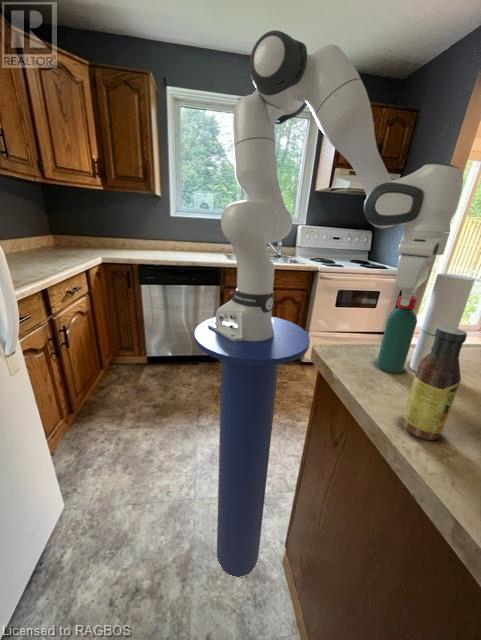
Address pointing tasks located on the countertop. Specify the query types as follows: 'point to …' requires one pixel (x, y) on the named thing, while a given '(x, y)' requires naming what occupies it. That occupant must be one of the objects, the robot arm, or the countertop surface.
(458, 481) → the countertop surface
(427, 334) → the cylindrical container
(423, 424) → the sauce bottle
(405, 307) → the cap
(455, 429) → the countertop surface
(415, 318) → the water bottle
